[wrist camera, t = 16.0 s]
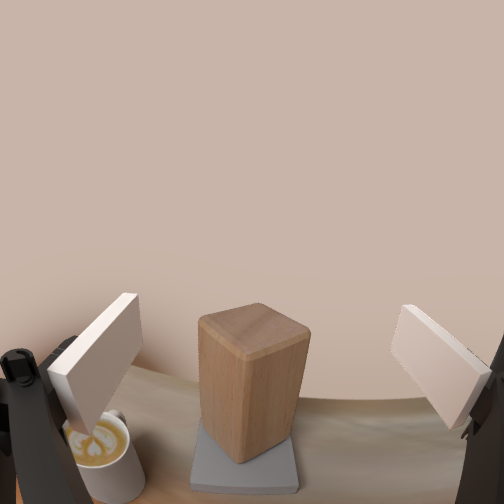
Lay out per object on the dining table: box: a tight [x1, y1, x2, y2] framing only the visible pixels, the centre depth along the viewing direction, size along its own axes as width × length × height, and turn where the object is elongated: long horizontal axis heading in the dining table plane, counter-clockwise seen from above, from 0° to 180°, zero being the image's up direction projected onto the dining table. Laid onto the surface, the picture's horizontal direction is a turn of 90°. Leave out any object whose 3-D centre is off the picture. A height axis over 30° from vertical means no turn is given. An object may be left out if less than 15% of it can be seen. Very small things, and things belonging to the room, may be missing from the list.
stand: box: [190, 418, 299, 495], centre depth 33 cm, size 14×14×2 cm
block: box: [198, 303, 311, 464], centre depth 34 cm, size 10×10×20 cm
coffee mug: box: [63, 410, 145, 504], centre depth 26 cm, size 13×10×10 cm
